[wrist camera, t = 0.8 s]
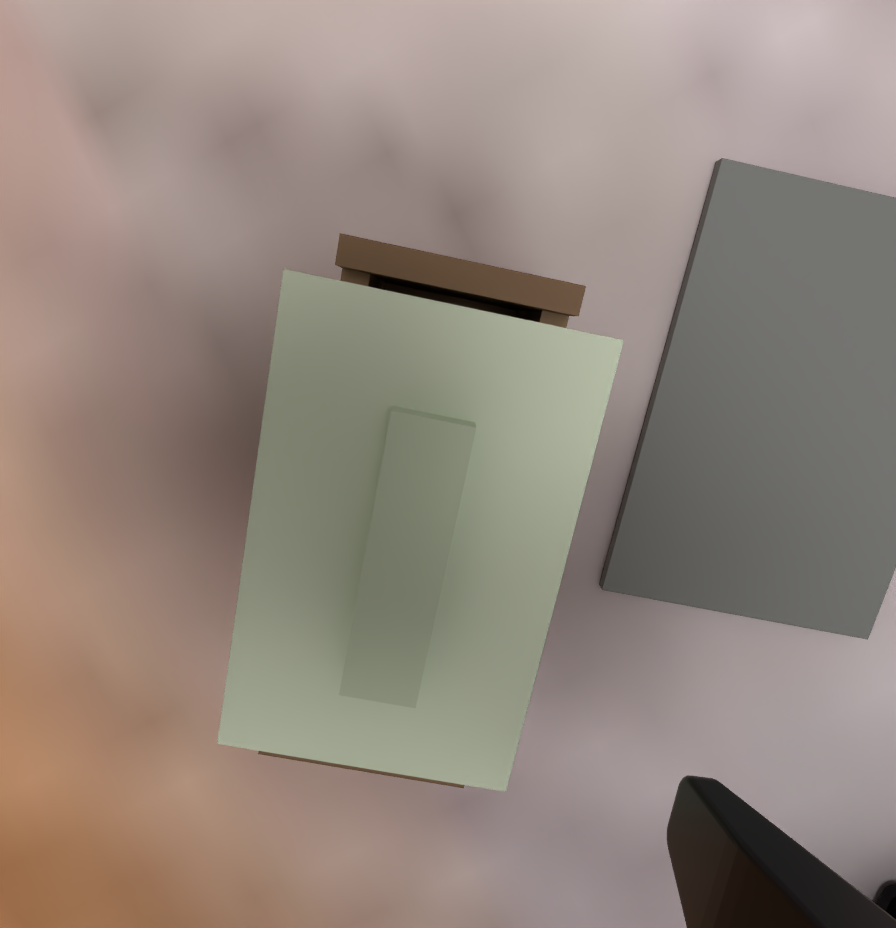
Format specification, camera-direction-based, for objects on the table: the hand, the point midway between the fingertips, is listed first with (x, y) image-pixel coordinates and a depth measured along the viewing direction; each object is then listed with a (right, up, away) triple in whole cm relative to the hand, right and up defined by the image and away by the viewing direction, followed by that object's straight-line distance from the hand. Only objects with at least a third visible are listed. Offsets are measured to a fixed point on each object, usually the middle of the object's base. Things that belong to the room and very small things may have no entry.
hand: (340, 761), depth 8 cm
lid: (+1, +2, +7) cm, 7 cm away
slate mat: (+12, +5, +11) cm, 17 cm away
